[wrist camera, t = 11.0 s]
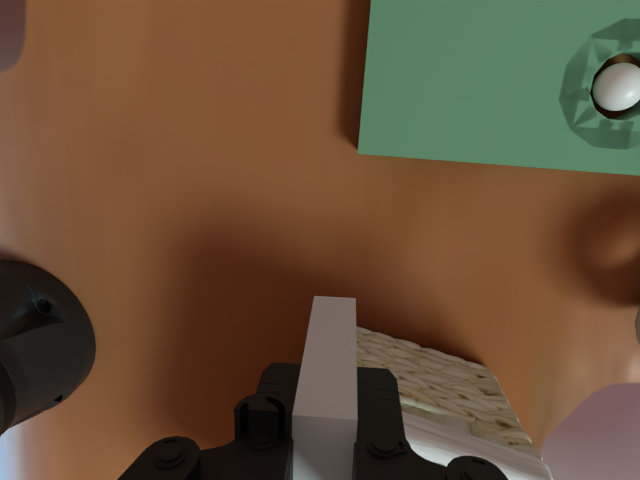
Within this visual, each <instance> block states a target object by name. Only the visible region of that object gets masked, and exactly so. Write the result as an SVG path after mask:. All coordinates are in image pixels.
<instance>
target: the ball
mask: <svg viewBox="0 0 640 480" xmlns="http://www.w3.org/2000/svg"><path fill="white" fill-rule="evenodd" d="M592 93H593V97H594V99H595V101H596V103H597V104H598V105H599V106H601V107H602V108H604V109H607V110H611V111H620V110H624V109H627V108H629V107H631V106H633V105H634V104H636V103H637V102H638V101H639V100H640V68H639V67H637V66H636V65H633V64H630V63H617V64H614V65H611V66H609V67H607V68H606V69H604V70H603V71H602V72H601V73H600V74H599V75H598V76H597V78H596V79H595V81H594V84H593V89H592Z"/></svg>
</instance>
